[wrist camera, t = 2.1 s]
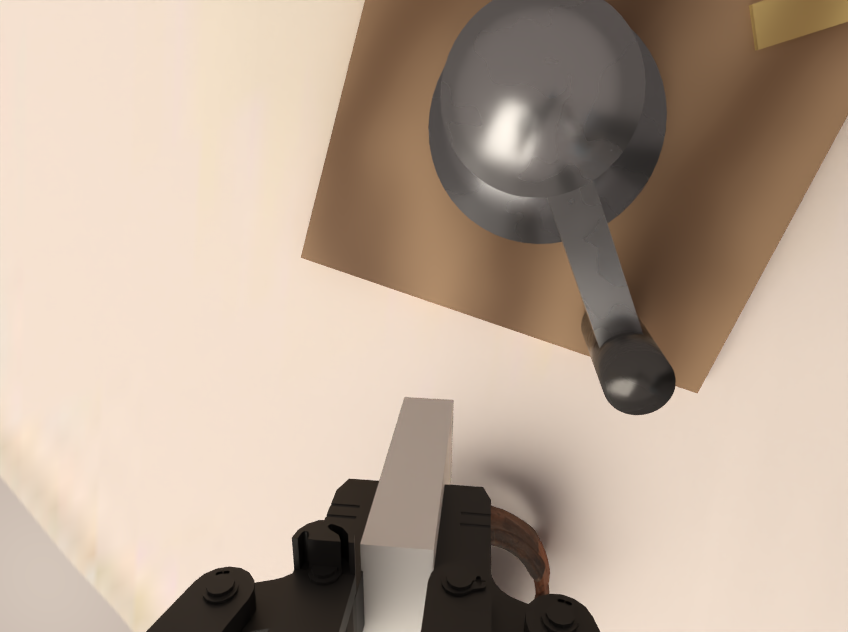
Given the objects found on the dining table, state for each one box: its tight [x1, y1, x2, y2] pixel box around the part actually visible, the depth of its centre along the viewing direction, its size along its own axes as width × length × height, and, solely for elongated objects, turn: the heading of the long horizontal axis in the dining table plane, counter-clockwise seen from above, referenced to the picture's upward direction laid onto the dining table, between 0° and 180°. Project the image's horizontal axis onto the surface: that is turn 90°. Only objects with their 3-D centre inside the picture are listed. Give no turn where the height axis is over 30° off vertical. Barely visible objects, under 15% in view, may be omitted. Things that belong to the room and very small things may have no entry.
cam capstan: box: [428, 0, 676, 415], centre depth 22 cm, size 14×9×6 cm, turn 22°
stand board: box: [301, 0, 848, 393], centre depth 23 cm, size 20×19×4 cm
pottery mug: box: [491, 506, 550, 598], centre depth 31 cm, size 12×10×8 cm
